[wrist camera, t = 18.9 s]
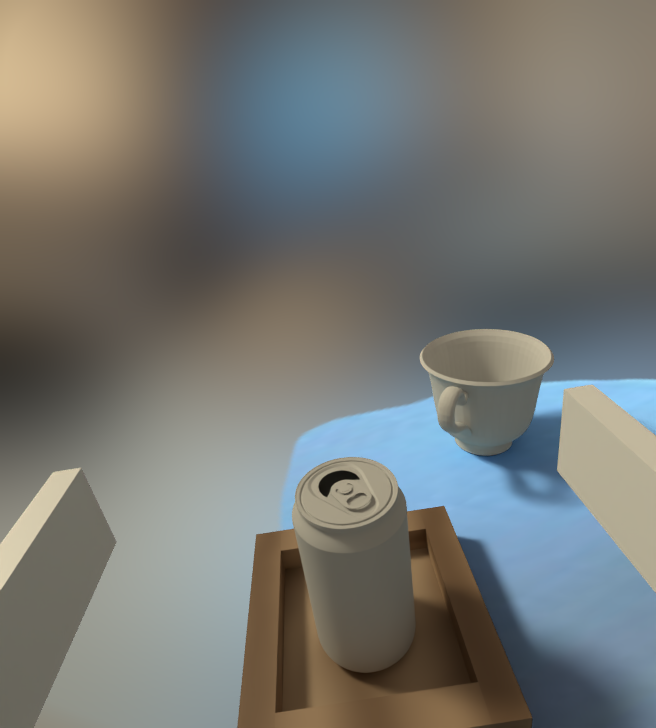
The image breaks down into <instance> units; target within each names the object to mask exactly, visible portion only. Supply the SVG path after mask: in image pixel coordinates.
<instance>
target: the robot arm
mask: <svg viewBox="0 0 656 728" xmlns="http://www.w3.org/2000/svg"><path fill="white" fill-rule="evenodd" d="M557 471H558V472H559V474H560V475H561V476H562V477H563V479H564V480H565V481H566V482H567V483H568V485H569V486H570V487H571V488H572V490H573V491H574V492H575V493H576V495H577V496H578V497H579V498H580V500H581V501H582V502H583V503H584V505H585V506H586V507H587V508H588V510H589V511H590V512H591V513H592V514H593V516H594V517H595V518H596V519H597V521H598V522H599V523H600V524H601V526H602V527H603V528H604V529H605V531H606V532H607V533H608V534H609V536H610V537H611V538H612V539H613V541H614V542H615V543H616V544H617V545H618V547H619V548H620V549H621V550H622V552H623V553H624V554H625V555H626V557H627V558H628V559H629V560H630V562H631V563H632V564H633V565H634V567H635V568H636V569H637V570H638V572H639V573H640V574H641V575H642V576H643V578H644V579H645V580H646V581H647V583H648V584H649V585H650V586H651V588H652V589H653V590H654V591H655V593H656V436H655V435H654V434H653V433H652V432H651V431H649V430H648V429H647V428H646V427H644V426H643V425H642V424H641V423H639V422H638V421H637V420H636V419H634V418H633V417H632V416H631V415H629V414H628V413H627V412H626V411H624V410H623V409H622V408H621V407H619V406H618V405H617V404H616V403H615V402H613V401H612V400H611V399H610V398H608V397H607V396H606V395H605V394H603V393H602V392H601V391H600V390H598V389H597V388H596V387H595V386H593V385H587V386H581V387H575V388H569V389H564V396H563V407H562V419H561V431H560V442H559V454H558V465H557ZM115 544H116V540H115V538H114V535H113V533H112V531H111V529H110V527H109V525H108V523H107V521H106V519H105V517H104V514H103V512H102V510H101V509H100V506H99V504H98V502H97V500H96V498H95V496H94V494H93V491H92V489H91V487H90V485H89V483H88V481H87V479H86V477H85V475H84V473H83V470H82V468H76V469H70V470H64V471H58V472H53V473H52V474H51V476H50V477H49V479H48V480H47V481H46V483H45V484H44V485H43V487H42V488H41V489H40V491H39V492H38V494H37V495H36V496H35V498H34V499H33V500H32V502H31V503H30V505H29V506H28V507H27V509H26V510H25V511H24V513H23V514H22V516H21V517H20V518H19V520H18V521H17V522H16V524H15V525H14V526H13V528H12V529H11V530H10V532H9V533H8V534H7V536H6V537H5V538H4V540H3V541H2V543H1V544H0V728H34V726H35V723H36V721H37V719H38V717H39V714H40V712H41V710H42V708H43V705H44V703H45V701H46V699H47V697H48V694H49V692H50V690H51V687H52V685H53V683H54V681H55V679H56V676H57V674H58V672H59V670H60V667H61V665H62V663H63V661H64V658H65V656H66V654H67V652H68V649H69V647H70V645H71V643H72V641H73V638H74V636H75V634H76V632H77V629H78V627H79V625H80V622H81V620H82V618H83V616H84V614H85V611H86V609H87V607H88V605H89V602H90V600H91V598H92V596H93V593H94V591H95V589H96V587H97V584H98V582H99V580H100V578H101V575H102V573H103V571H104V569H105V567H106V564H107V562H108V560H109V558H110V555H111V553H112V551H113V549H114V546H115Z"/></svg>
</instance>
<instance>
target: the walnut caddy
mask: <svg viewBox="0 0 656 728" xmlns="http://www.w3.org/2000/svg"><path fill="white" fill-rule="evenodd" d="M407 519H408V532H409V545H410V557H411V570H412V583H413V596H414V608H415V621H416V628H415V634H414V638H413V641H412V643H411V646H410V648H409V649H408V651H407V652H406V654H405V655H404V656H403V657H402V658H401V659H400V660H399V661H398V662H397V663H395V664H394V665H392V666H390V667H388V668H386V669H384V670H381V671H377V672H369V673H362V672H355V671H351V670H348V669H346V668H344V667H342V666H340V665H338V664H337V663H336V662H334V661H333V660H332V659H331V658H330V657H329V656H328V655H327V653H326V652H325V651H324V649H323V647H322V645H321V643H320V640H319V637H318V633H317V629H316V624H315V620H314V615H313V611H312V606H311V602H310V597H309V593H308V588H307V584H306V579H305V575H304V570H303V566H302V562H301V557H300V553H299V548H298V544H297V539H296V535H295V530H294V529H290V530H283V531H277V532H270V533H263V534H257V535H256V543H255V554H254V563H253V573H252V584H251V594H250V604H249V614H248V625H247V636H246V645H245V656H244V666H243V676H242V686H241V696H240V706H239V717H238V728H531V727H532V716H531V713H530V711H529V709H528V706H527V704H526V701H525V699H524V697H523V694H522V692H521V689H520V687H519V685H518V682H517V680H516V677H515V675H514V673H513V670H512V668H511V665H510V663H509V661H508V658H507V656H506V653H505V651H504V649H503V646H502V644H501V641H500V639H499V637H498V634H497V632H496V629H495V627H494V625H493V622H492V620H491V617H490V615H489V613H488V610H487V608H486V605H485V603H484V601H483V598H482V596H481V593H480V591H479V588H478V586H477V584H476V581H475V579H474V576H473V574H472V572H471V569H470V567H469V564H468V562H467V560H466V557H465V555H464V552H463V550H462V548H461V545H460V543H459V540H458V538H457V536H456V533H455V531H454V528H453V526H452V524H451V521H450V519H449V516H448V514H447V512H446V509H445V507H444V506H441V507H434V508H427V509H421V510H414V511H408V512H407Z"/></svg>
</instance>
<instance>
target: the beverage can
mask: <svg viewBox="0 0 656 728" xmlns="http://www.w3.org/2000/svg"><path fill="white" fill-rule="evenodd" d="M292 521H293V526H294V530H295V535H296V539H297V544H298V548H299V553H300V557H301V562H302V566H303V570H304V575H305V579H306V584H307V588H308V593H309V597H310V602H311V606H312V611H313V615H314V620H315V624H316V629H317V633H318V637H319V640H320V643H321V645H322V647H323V649H324V651H325V652H326V653H327V655H328V656H329V657H330V658H331V659H332V660H333V661H334V662H336V663H337V664H338V665H340V666H342V667H344V668H346V669H348V670H351V671H355V672H362V673H369V672H377V671H381V670H384V669H386V668H388V667H390V666H392V665H394V664H395V663H397V662H398V661H399V660H400V659H401V658H402V657H403V656H404V655H405V654H406V652H407V651H408V649H409V648H410V646H411V643H412V641H413V638H414V634H415V628H416V621H415V608H414V596H413V583H412V570H411V557H410V545H409V532H408V519H407V506H406V500H405V497H404V494H403V492H402V491H401V489H400V488H399V487H398V484H397V481H396V478H395V476H394V475H393V473H392V472H391V471H390V470H389V469H388V468H387V467H385V466H384V465H382V464H380V463H378V462H376V461H373V460H370V459H366V458H359V457H347V458H339V459H334V460H331V461H327V462H325V463H322V464H320V465H318V466H317V467H315V468H313V469H312V470H311V471H309V472H308V473H307V474H306V475H305V476H304V477H303V478H302V479H301V481H300V482H299V484H298V486H297V489H296V493H295V503H294V506H293V511H292Z"/></svg>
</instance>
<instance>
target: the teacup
mask: <svg viewBox="0 0 656 728" xmlns="http://www.w3.org/2000/svg"><path fill="white" fill-rule="evenodd" d="M420 362H421V364H422V366H423V367H424V368H425V369H426V370H427V371H428V373H429V376H430V380H431V385H432V390H433V396H434V402H435V407H436V411H437V416H438V422H439V425H440V426H441V428H442V429H443V430H444V431H446V432H448V433H449V434H450V435H452V436H453V437H455V441H456V443H457V445H458V446H459V447H460V448H462V449H463V450H465V451H467V452H469V453H472V454H476V455H484V456H490V455H496V454H500V453H503V452H505V451H506V450H508V449H509V448H510V447H511V445H512V441H513V440H515V439H517V438H518V437H520V436H521V435H522V434H523V433H524V432H525V431H526V430H527V428H528V427H529V425H530V423H531V421H532V418H533V415H534V411H535V407H536V403H537V398H538V393H539V389H540V385H541V381H542V377H543V374H544V373H545V372H546V371H547V370H549V369H550V367H551V366H552V365H553V362H554V356H553V354H552V351H551V350H550V349H549V348H548V347H547V346H546V345H545V344H544V343H542V342H541V341H539V340H538V339H536V338H534V337H531V336H528V335H525V334H521V333H517V332H513V331H506V330H495V329H494V330H493V329H477V330H467V331H460V332H455V333H451V334H448V335H445V336H442V337H440V338H437V339H435V340H434V341H432V342H430V343H429V344H428V345H427V346H426V347H425V348H424V349H423V350H422V352H421V354H420Z"/></svg>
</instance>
